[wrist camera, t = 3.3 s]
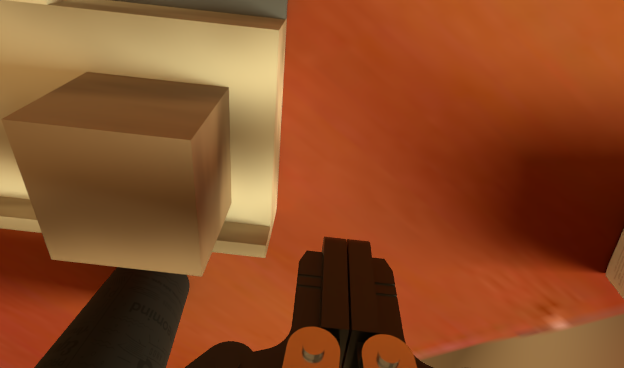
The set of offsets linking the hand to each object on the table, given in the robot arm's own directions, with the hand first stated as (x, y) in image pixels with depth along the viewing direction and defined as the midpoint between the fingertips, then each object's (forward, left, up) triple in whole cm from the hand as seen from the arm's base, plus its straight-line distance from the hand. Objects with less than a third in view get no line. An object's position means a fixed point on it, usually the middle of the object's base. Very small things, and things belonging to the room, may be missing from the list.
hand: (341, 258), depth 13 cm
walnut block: (0, -8, -6) cm, 10 cm away
